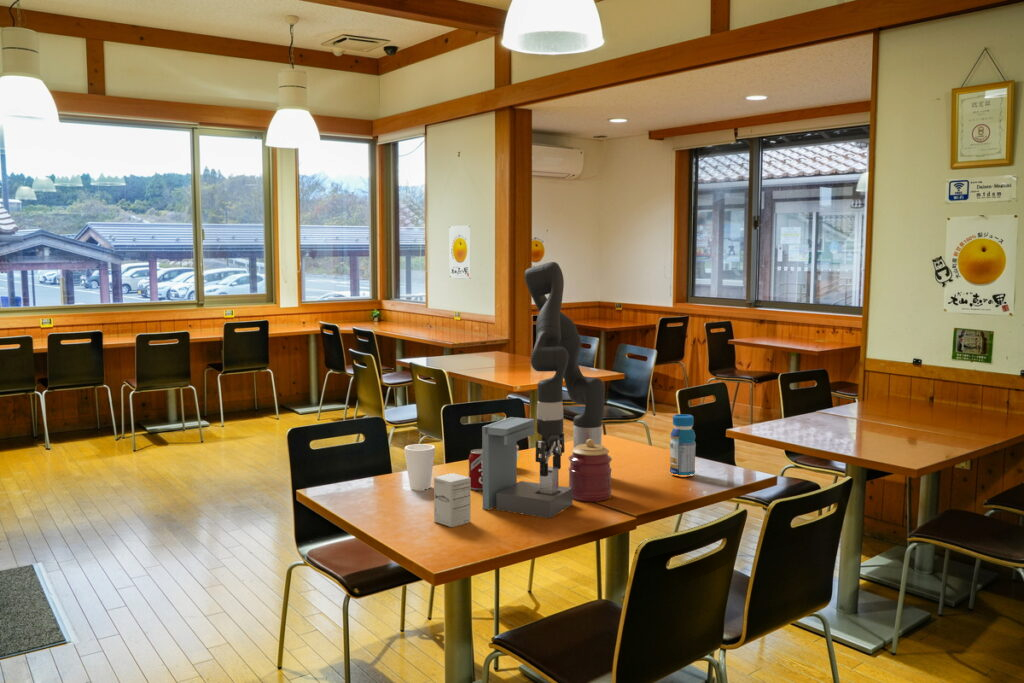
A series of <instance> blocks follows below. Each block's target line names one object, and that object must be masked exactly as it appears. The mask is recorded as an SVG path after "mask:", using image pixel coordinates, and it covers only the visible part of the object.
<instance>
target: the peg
mask: <svg viewBox="0 0 1024 683" xmlns="http://www.w3.org/2000/svg"><path fill="white" fill-rule="evenodd" d="M539 483H540V494H543V495H550V496H554V495H556V494H558V486H559V470H558V467H553V466H549V465H548V476H546V477H544V476H540V475H539Z"/></svg>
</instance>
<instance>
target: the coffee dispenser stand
mask: <svg viewBox="0 0 1024 683" xmlns="http://www.w3.org/2000/svg"><path fill="white" fill-rule="evenodd" d="M481 431H482V432H481V433H482V434H481V435H482V438H481V440H482V443H481V449H482V477H483V491H482V510H486V509H490V510H491V508H492V509H494V508H495V507H497V506H496V493H497V492H499V491H501V490H503V489H507V488H509V487H511V486H514V484H516V483H518V478H517V477H518V475H517V472H518V468H517V467H518V466H517V465H518V463H517V462H518V460H517V445H518V443H517V442H518V441H520V440H523V439H526V438H528V437H530V436H534V435H535V419H534V418H526V417H524V418H523V417H514V416H509V417H507V418H504V419H501V420H497V421H495V422H492V423H490V424H486V425H484V426H482V428H481ZM494 506H495V507H494Z"/></svg>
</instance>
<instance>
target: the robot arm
mask: <svg viewBox="0 0 1024 683" xmlns="http://www.w3.org/2000/svg"><path fill="white" fill-rule="evenodd" d="M562 271H563V270H562V268H561V267H560V265H559V264H558V263H557V262H556V261H549V262H545V263H543V264H539V265H535V266H532V267H528V268H527V269H526V270H525V271H524V280H525V284H526V287H527V289H528V291H529V294H530V295H531V298H532V300H533V302H534V304H535V306H536V308H537V311H538V312H539V313H538V314H537V317H536V321H535V322H536V323H535V326H536V327H535V331H536V332H535V334H536V336H535V343H534V347H533V349H532V352H531V356H530V364H531V367H532V368H533V370H535V372H545V373H546V372H555V373H554V375H553V376H552V377H549V378H547V379H546V378H545V379H541V380H539V381H538V383H537V405H536V432H537V434H539V435H541V438H540V439H541V440H536V442H535V462H536V463H539V477H540V476H544V477H546V476H548V466H549V460H550V457H551V456H552V467H558V471H560V470H561V467H562V461H561V460H562V458H561V457H562V455H563V453H565V433H564V405H563V404H564V402H563V383H564V384H565V387H566V388H565V389H566V391H567V393H568V396H569V398H570V401H572V402H573V403H575V404H578V405H585V406H584V411H583V413H581V414H577V415H575V416H574V417H573V423H572V424H573V428H572V429H573V430H572V432H573V437H572V438H573V440H572V441H573V445H572V446H573V448H575V447H576V446H577V445H580V444H586V441H587V440H588V439H593V440H594V443H595V444H599V445H602V437H603V436H602V430H603V429H602V426H603V425H602V424H603V423H602V421H603V418H604V414H605V396H606V388H605V384H604V382H603V380H602V379H601V378H599V377H593V376H585V375H583V374H582V371H581V370H580V365H579V362H578V361H579V358H580V357H579V356H580V354H581V348H582V340H581V336H580V334H579V331H578V328H577V326H576V323H574V321H573V320H572V319H571V318H570V317H569V316H567V315H566V314H565V313H563V312H562V311H561V310H562V303H563V302H562V301H563V295H564V285H565V281H564V275H563V272H562ZM546 295H548V297H546ZM573 448H572V449H573Z"/></svg>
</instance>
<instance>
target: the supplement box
mask: <svg viewBox="0 0 1024 683" xmlns="http://www.w3.org/2000/svg"><path fill="white" fill-rule="evenodd" d="M471 490H472V489H471V478H470V477H469V476H467V475H466V476H465V475H461V474H457V473H454V472H450V473H446V474H442V475H437V476H434V477H433V491H434V492H433V497H434V499H433V502H434V503H433V505H434V506H433V508H434V509H433V515H434V517H433V520H434V523H438V524H440V525H444V526H447V527H449V528H454V527H458V525H459V526H462V525H466V524H469V523H471V511H472V510H471V503H472V502H471V493H472V492H471ZM468 522H469V523H468ZM465 523H466V524H465Z"/></svg>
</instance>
